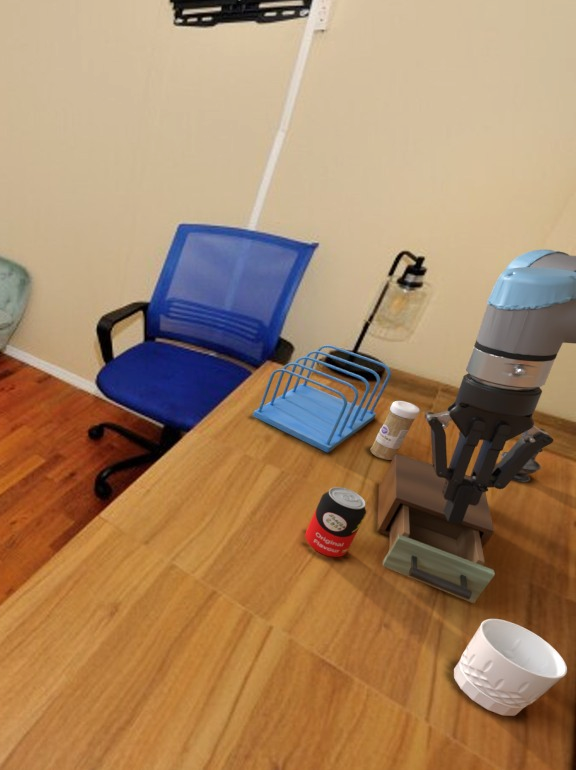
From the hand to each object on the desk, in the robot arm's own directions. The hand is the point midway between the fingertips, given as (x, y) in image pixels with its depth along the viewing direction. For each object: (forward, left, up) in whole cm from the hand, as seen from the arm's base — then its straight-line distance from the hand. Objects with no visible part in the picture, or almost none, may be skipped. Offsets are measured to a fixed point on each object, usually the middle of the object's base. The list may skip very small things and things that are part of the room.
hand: (452, 517), depth 78 cm
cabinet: (-2, -19, -16) cm, 25 cm away
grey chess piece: (-18, -49, -16) cm, 54 cm away
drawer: (-2, -6, -15) cm, 16 cm away
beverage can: (+12, -1, -16) cm, 20 cm away
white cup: (-8, +15, -16) cm, 23 cm away
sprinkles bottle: (+4, -40, -16) cm, 43 cm away
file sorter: (+18, -47, -16) cm, 53 cm away
